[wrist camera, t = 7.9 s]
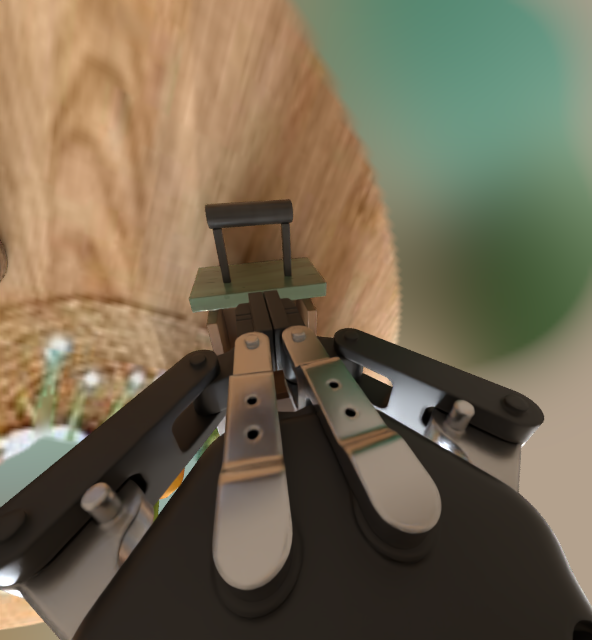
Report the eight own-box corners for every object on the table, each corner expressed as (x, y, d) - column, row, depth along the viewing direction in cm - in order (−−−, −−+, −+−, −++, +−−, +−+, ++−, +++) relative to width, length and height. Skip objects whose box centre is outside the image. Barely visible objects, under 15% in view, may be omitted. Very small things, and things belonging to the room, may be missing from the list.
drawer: (181, 199, 20) (163, 212, 15) (307, 191, 22) (329, 201, 17) (223, 367, 30) (221, 411, 25) (308, 353, 32) (322, 392, 27)
